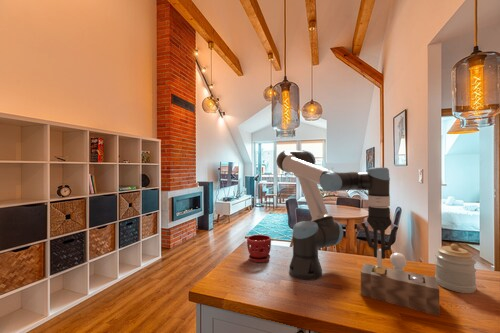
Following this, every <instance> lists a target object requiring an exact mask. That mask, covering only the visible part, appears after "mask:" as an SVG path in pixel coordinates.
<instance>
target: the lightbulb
mask: <svg viewBox="0 0 500 333" xmlns="http://www.w3.org/2000/svg"><path fill="white" fill-rule="evenodd" d="M389 261H390V263H391V265H392V266H393V269H396V270H401V271H404V268H405V266H406V265H407V262H408V261H407V258H406V257H405V255H404V254H403V253H400V252H393V253H392V254H391V255H390V257H389Z"/></svg>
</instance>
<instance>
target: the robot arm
mask: <svg viewBox="0 0 500 333" xmlns="http://www.w3.org/2000/svg"><path fill="white" fill-rule="evenodd" d="M276 165H277V166H278V168H279V169H280V170H281V171H283V172H285V173H293V175H294V177H295V178H298V181H299V186H301V187H300V188H301V190H302V193H303V196H304V199H305V201H306V202H305V203H306V204H307V207H308V211H309V213H310V216H311V220H306V221H305V220H304V221H302V220H301V221H299V222H297V223H295V224H293V227H292V257H291V260H290V263H289V267H288V268H289V274H290V275H291V276H292V277H295V278H297V279H299V280H304V281H310V280H312V281H313V280H318V279H321V277H322V276H323V269H322V266H321V262H320V259H319V249H323V248H328V247H333V246H335V245H338V244H340V243H341V242H342V240H343V237H344V230H343V226H342V225H341V223H339V221H337V220H335V219H334V217H333V215H331V214H329V212H328V210H327V207H326V204H325V201H324V199H323V196H322V194H321V191H320V188H319V186H320V187H321V188H322V190H323V191H325V192H331V193H332V192H334V193H335V192H340V191H341V192H342V191H356V190H357V191H358V190H359V191H367V202H368V203H367V205H368V209H367V210H368V211H367V212H368V214H367V215H368V216H367V219H366V220H365V221H362V222H361V223H360V226H362V228H363V231H364V234H365V237H366V238H365V239H366V240H367V241H366V242H367V245H368V247H369V248H371V249H373V257H374V258H376V265H377V267H380V268H382V266H383V260H385V259H386V251H390V250H391V247H392V244H393V240H394V236H395V233H396V231H397V230H398V229H399V226H398V225H397V224H394V223H393V222H392V220H391V208H390V206H391V196H390V182H391V181H390V180H391V177H390V170H389V168H388V167H369V168H367V172H364V171H363V172H361V171H348V172H338V171H337V172H336V171H333V170H331V169H329V168H326V167H322V166H319V165H317V164H316V157H315V155H314V154H313V153H312V152H311V151H308V150H291V149H289V150H288V149H287V150H283V151H282V152H280V153H278V155H277V157H276ZM369 226H370V228H371V229H372V230H373V240H372V236H371V234H370V228H369ZM389 227H390V229H391V230H390V234H389V237H388V241H387V245H386V230H387V229H388V228H389ZM378 231H380V245H381V246H380V247H381V248H378V247H379V246H378V244H379V243H378V242H379V241H378V240H379V239H378V234H379V233H378Z"/></svg>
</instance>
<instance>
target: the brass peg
mask: <svg viewBox="0 0 500 333" xmlns="http://www.w3.org/2000/svg"><path fill="white" fill-rule="evenodd" d="M373 265H374V272H375V273H380V274H384V275H385V266H384V265H382V268H380V267H377V264H373Z"/></svg>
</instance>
